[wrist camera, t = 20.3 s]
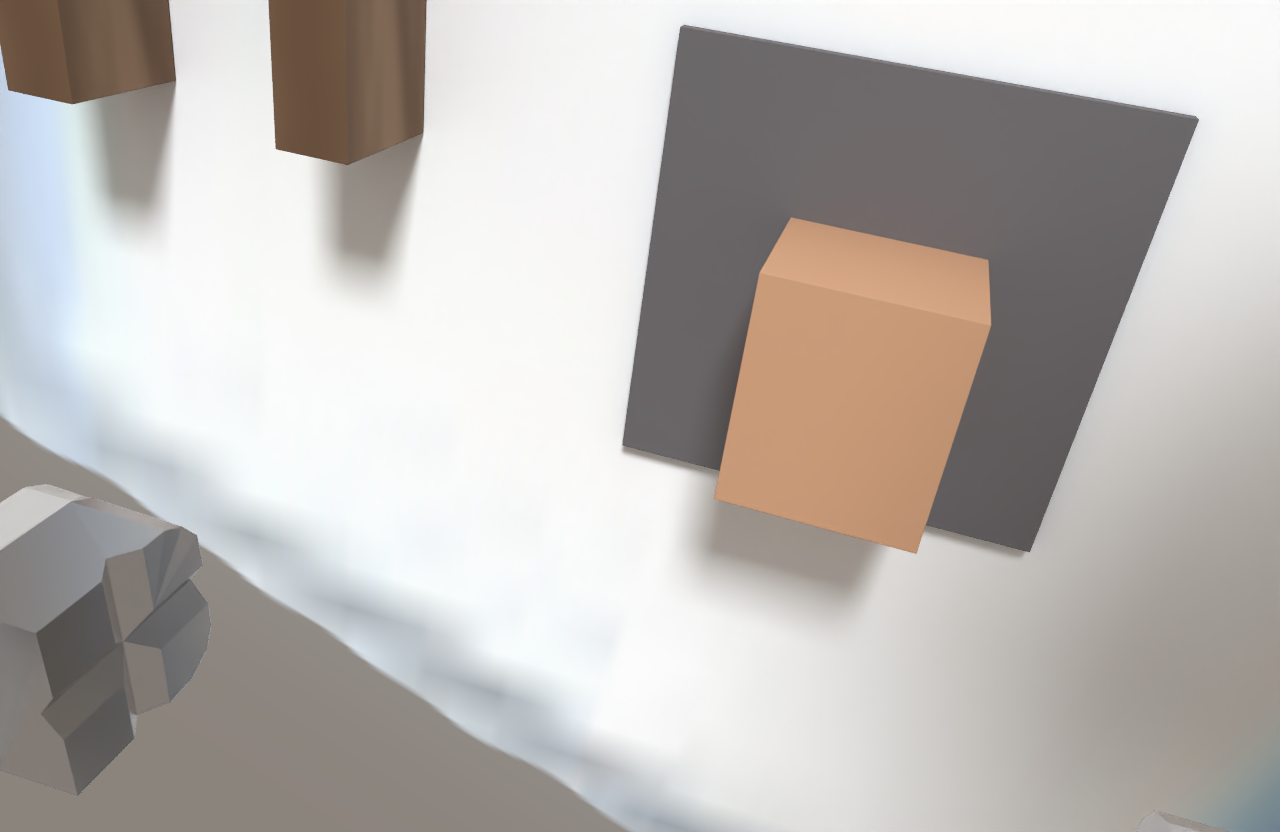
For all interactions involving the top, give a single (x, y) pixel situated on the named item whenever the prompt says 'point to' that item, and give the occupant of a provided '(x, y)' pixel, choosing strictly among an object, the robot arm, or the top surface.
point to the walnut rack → (300, 52)
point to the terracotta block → (854, 381)
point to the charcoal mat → (905, 211)
